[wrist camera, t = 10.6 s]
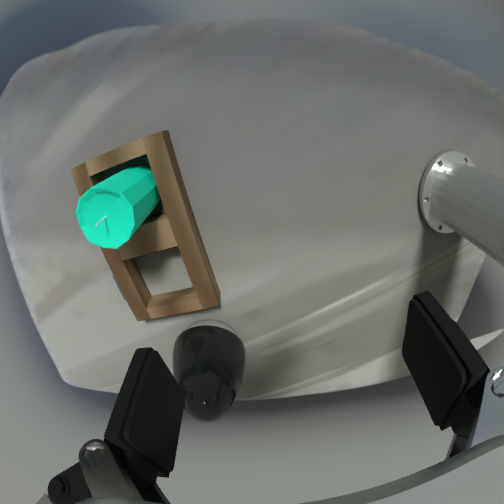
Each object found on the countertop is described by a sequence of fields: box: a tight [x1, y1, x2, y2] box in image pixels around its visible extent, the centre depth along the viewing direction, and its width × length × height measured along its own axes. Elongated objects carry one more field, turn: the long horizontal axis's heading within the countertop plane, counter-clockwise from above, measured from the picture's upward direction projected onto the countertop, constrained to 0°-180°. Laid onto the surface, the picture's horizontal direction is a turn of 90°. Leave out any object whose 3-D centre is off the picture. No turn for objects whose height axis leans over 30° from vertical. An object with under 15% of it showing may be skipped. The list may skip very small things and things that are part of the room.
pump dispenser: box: [173, 320, 245, 423], centre depth 35 cm, size 10×10×15 cm
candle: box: [76, 165, 160, 249], centre depth 26 cm, size 6×6×12 cm
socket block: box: [71, 130, 220, 321], centre depth 32 cm, size 12×22×3 cm, turn 13°
